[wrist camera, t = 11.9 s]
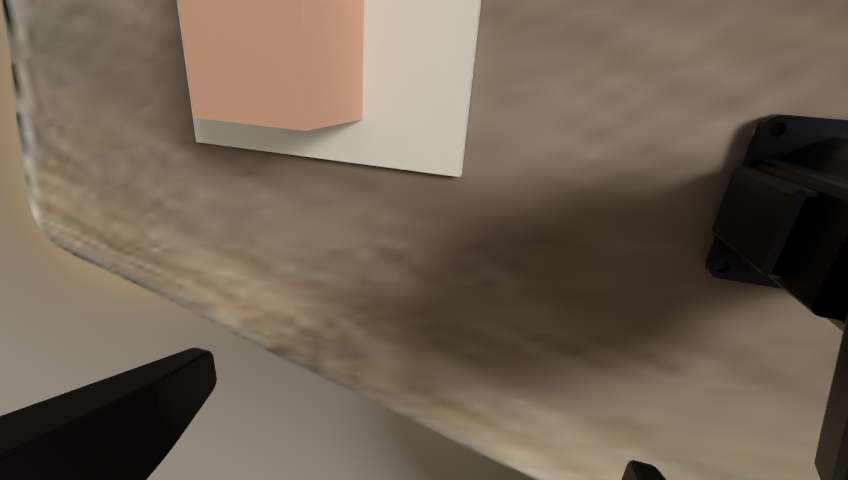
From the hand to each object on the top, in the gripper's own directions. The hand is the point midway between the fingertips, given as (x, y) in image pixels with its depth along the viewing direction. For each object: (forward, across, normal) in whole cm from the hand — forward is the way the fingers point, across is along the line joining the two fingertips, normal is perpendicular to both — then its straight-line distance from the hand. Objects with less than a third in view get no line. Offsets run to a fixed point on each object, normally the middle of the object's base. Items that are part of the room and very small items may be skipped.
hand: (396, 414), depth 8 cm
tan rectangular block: (+12, +8, -8) cm, 16 cm away
